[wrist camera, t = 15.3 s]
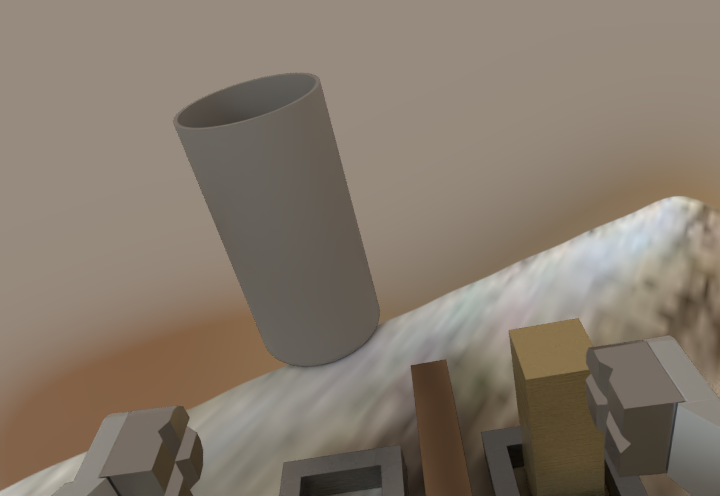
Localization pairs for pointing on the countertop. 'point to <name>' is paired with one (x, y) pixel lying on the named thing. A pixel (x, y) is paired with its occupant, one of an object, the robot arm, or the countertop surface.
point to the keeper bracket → (508, 454)
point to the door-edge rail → (439, 432)
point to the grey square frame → (347, 473)
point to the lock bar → (556, 410)
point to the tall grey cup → (284, 214)
